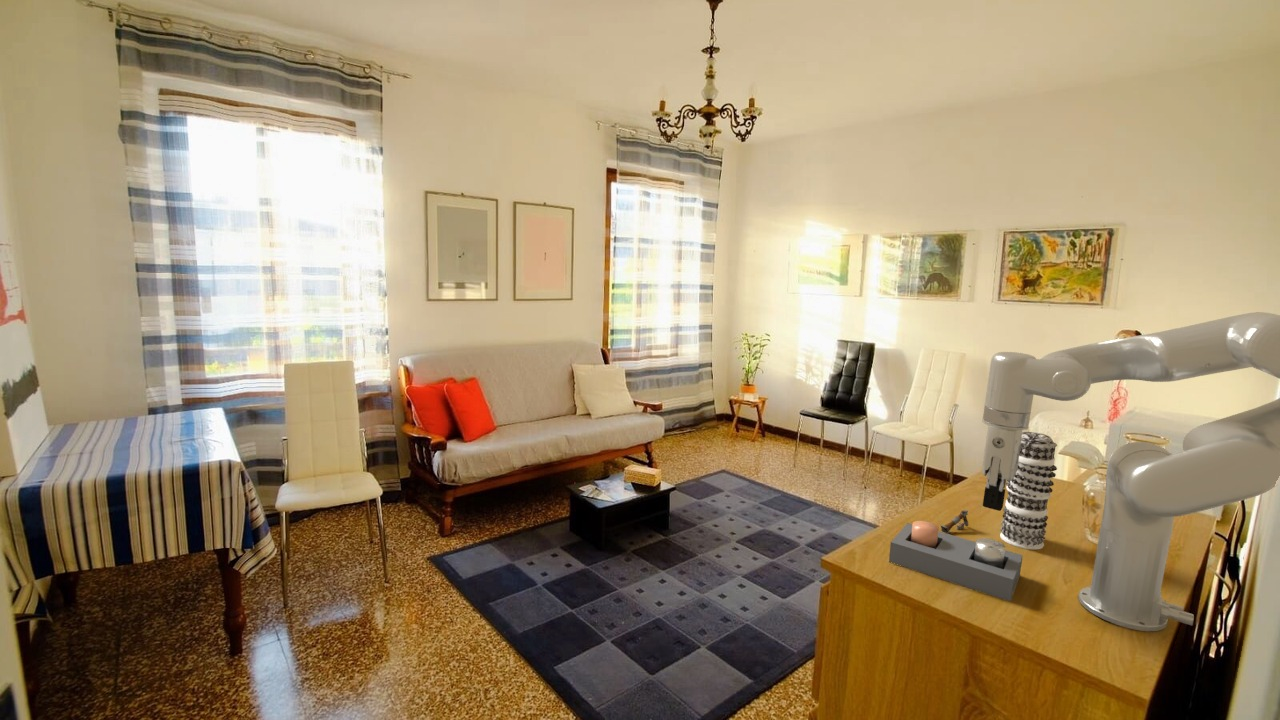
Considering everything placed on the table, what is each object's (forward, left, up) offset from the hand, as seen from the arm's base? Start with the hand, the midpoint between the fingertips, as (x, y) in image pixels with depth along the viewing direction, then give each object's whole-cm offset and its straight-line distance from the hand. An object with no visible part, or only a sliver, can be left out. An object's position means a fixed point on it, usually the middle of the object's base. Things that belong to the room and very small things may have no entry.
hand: (992, 507), depth 116 cm
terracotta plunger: (+12, 0, -12) cm, 16 cm away
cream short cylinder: (0, 0, -12) cm, 12 cm away
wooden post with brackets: (+10, -20, -16) cm, 27 cm away
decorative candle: (-3, -24, -15) cm, 29 cm away
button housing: (+6, 0, -15) cm, 16 cm away
